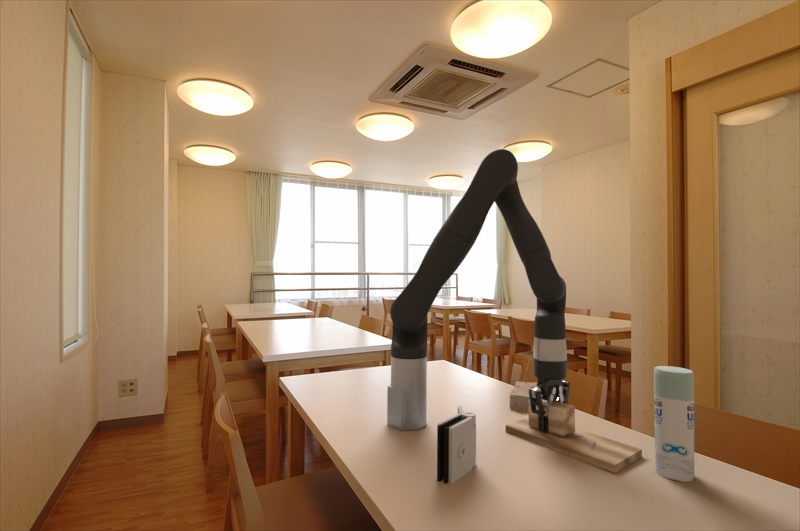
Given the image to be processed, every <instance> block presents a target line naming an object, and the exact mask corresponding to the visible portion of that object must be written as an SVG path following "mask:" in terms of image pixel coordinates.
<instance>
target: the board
mask: <svg viewBox="0 0 800 531" xmlns="http://www.w3.org/2000/svg"><path fill="white" fill-rule="evenodd" d="M505 432H506V433H508V434H511V435H513V436H517V437H519V438H522V439H525V440H527V441H530V442H532V443H535V444H538V445H541V446H543V447H545V448H548V449H551V450H553V451H557V452H558V453H561V454H563V455H566V456H568V457H569V456H570V457H572V458H574V459H577V460H580V461H582V462H586V463H588V464H589V465H593V466H595V467H598V468H601V469H603V470H606V471H609V472H611V473H614V474H616V473H617V472H619V471H620V470H622V469H625V467H627V466H629V465H630V464H632V463H634V462H635V461H637V460H639V459H640V458H642V457H643V449H642V448H638V447H635V446H633V445H629V444H627V443H623V442H620V441H616V440H613V439H610V438H607V437H604V436H601V435H598V434H594V433H591V432H589V431H586V430H582V429H579V428H576V427H575V433H573V434H570V435H568V436H566V437H564V438H563V437H560V436H557V435H554V434H551V433H548V432H546V433H545V432H542V431H539V429H536V428H534V427H531V426H529V416H528V417H526V418H522V419H519V420H516V421H514V422H511V423H507V424H505Z"/></svg>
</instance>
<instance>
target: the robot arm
mask: <svg viewBox="0 0 800 531" xmlns="http://www.w3.org/2000/svg"><path fill="white" fill-rule="evenodd" d="M518 172H519V165H518V161H517V158H516V156H515V154H514V153H513V152H511V150H508V149H506V148H499V149H497V148H496V149H495V150H492V151H491V152H489V153H487V154H486V155H485V156H484V158H483V159H482V161H481V162H480V164H479V166H478V168H477V169H476V172H475V174H474V175H473V178H472V180H471V182H470V184H469V186H468V187H467V189H466V191H465V192H464V194H463V196H462V198H461V199H460V200H459V201H458V203H457V204H456V205H455V207H454V208H453V209H452V211H451V213H450V214H449V215H448V217H447V218H446V220H445V221H444V223H443V224H442V226H441V227H440V228H439V230H438V232H437V234H436V235H435V237H434V238H433V240H432V241H431V243H430V245H429V247H428V249H427V251H426V252H425V254H424V256H423V259H422V260H421V263H420V265H419V267H418V269H417V271H416V272H415V274H414V275H413V277H412V278H411V280H410V281H409V282H408V283H407V285H406V286H405V287H404V289H403V290H402V291H401V292H400V293H399V295H398V296H397V297H396V298H395V299H394V300H393V301H392V304H391V306H390V311H389V314H390V320H391V321H392V332H391V333H392V334H391V335H392V337H391V345H390V385H388V386H387V393H386V394H387V396H386V397H387V398H386V399H387V400H386V401H387V403H386V405H387V408H386V409H387V410H386V412H387V413H386V415H387V416H386V418H387V420H386V421H387V422H386V424H387V425H389V426H392V427H393V428H396V429H398V430H400V431H408V430H410V431H411V430H413V431H414V430H419V429H422V428H424V427H426V425H427V404H428V403H427V402H428V401H427V394H428V393H427V387H428V386H427V385H428V384H427V380H428V376H427V375H428V374H427V373H428V371H427V370H428V368H427V366H428V362H427V361H428V356H427V355H428V314H429V312H430V309H431V307H432V306H433V303H434V302H435V300H436V297H437V296H438V295H439V293H440V291H441V289H442V288H443V287H444V285H445V284H446V283H447V281H449V279H450V278H451V277H452V276H453V274H454V273H455V272H456V271H457V269H458V268H459V267H460V265H461V264H462V263H463V262H464V260H465V259H466V257H467V256H468V255H469V252H470V250H471V249H472V247H474V245H475V243H476V241H477V239H478V237H479V235H480V233H481V231H482V229H483V226H484V224H485V221H486V219H487V218H488V217H487V216H488V213H489V212H490V210H491V208H492V206H493V204H494V203H495V204H496V206H497V208H498V210H499V211H500V214H501V216H502V217H503V220H504V223H505V224H506V228H507V230H508V232H509V235H510V237H511V239H512V242H513V245H514V248H515V249H516V252H517V254H518V256H519V258H520V261H521V264H522V265H523V266H524V270H525V272H526V273H525V274H526V277H527V281H528V282H529V286H530V288H531V290H532V293H533V294H534V297H535V298H536V313H535V316H534V325H533V327H534V328H533V330H534V331H533V332H534V333H533V334H534V336H533V337H534V338H533V345H532V348H533V349H532V352H533V353H532V354H533V359H532V360H533V365H532V367H533V368H532V371H533V372H532V373H533V375H534V377H536V379H537V382H536V383H537V387H536V388H534V389H531V388H530V389H529V397H530V404H531V411H532V413H535V414H538V429H539V431H542V432H545V433H546V432H548V412H549V407H551V406H552V402H553V401H554V402H558V403H564V404H568V403H569V395H570V388H571V387H570V386H571V383H570V382H569V381H565V380H564V379H567V377H568V374H567V373H568V370H567V369H568V352H567V351H568V349H567V348H568V347H567V341H566V331H567V330H566V317H565V316H566V315H565V313H566V306H567V304H566V302H567V285H566V281H565V280H564V278H562V277H561V276H560V274H559V272H558V270H557V268H556V266H555V264H554V262H553V260H552V254H551V251H550V248H549V246H548V244H547V241H546V239H545V237H544V235H543V233H542V231H541V229H540V227H539V225H538V224H537V222H536V220H535V219H534V217H533V216H532V214H531V213H530V211H529V209H528V208H527V206H526V204H525V202H524V199H523V197H522V195H521V191H520V187H519V182H518V180H517V178H518ZM542 400H546V401H547V402H543V401H542ZM536 405H537V408H536ZM543 405H545V408H544V410H543ZM568 405H569V404H568Z"/></svg>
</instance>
